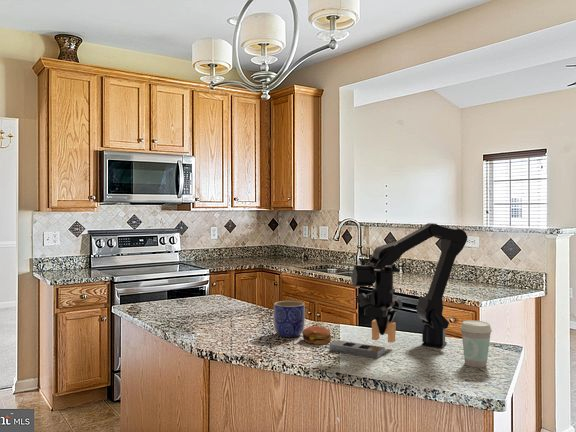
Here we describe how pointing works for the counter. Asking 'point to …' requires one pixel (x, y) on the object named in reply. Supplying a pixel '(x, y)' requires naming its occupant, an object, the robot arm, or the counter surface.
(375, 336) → the clip
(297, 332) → the planter
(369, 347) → the rail
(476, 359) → the coffee cup
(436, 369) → the counter surface
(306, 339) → the burger
